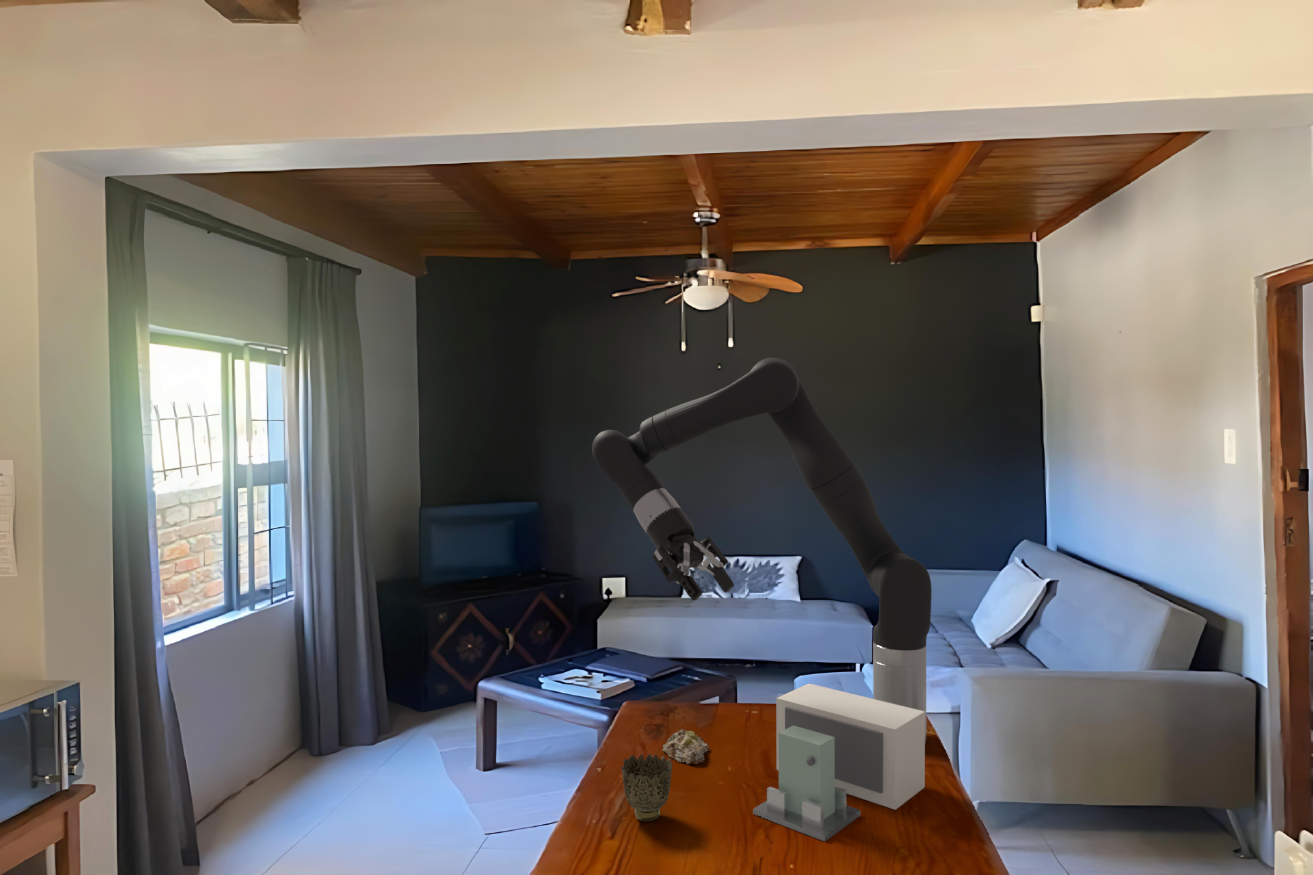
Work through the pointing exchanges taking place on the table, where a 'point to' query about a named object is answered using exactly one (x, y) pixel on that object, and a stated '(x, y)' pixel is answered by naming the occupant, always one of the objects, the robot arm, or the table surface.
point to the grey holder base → (808, 814)
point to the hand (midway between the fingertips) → (714, 593)
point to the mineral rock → (686, 747)
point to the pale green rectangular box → (807, 768)
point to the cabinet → (862, 741)
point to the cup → (647, 784)
